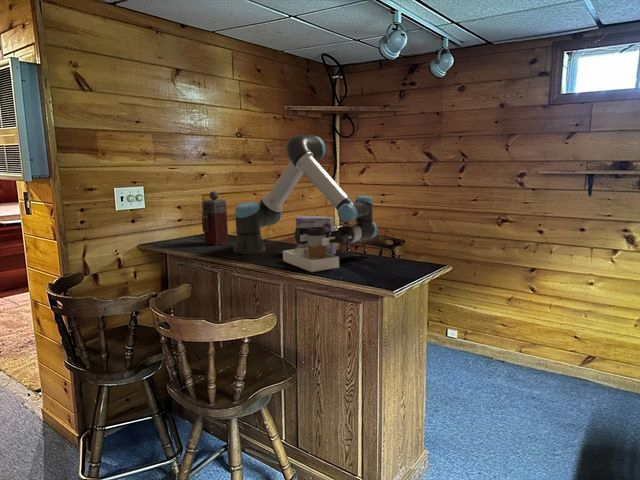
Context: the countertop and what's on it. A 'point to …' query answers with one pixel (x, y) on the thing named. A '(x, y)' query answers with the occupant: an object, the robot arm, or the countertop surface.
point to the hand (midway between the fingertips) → (311, 240)
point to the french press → (214, 220)
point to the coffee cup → (316, 243)
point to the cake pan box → (314, 221)
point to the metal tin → (301, 250)
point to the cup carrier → (311, 261)
